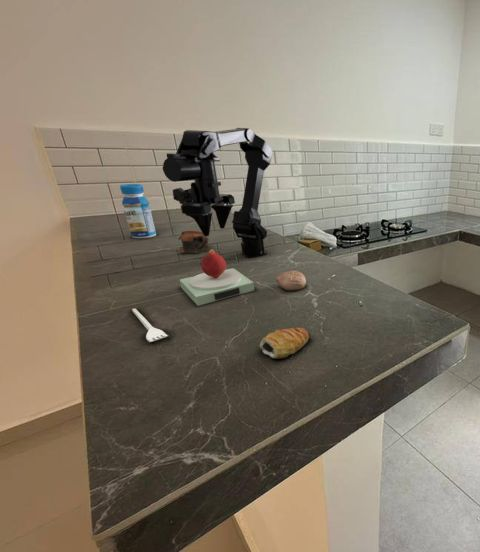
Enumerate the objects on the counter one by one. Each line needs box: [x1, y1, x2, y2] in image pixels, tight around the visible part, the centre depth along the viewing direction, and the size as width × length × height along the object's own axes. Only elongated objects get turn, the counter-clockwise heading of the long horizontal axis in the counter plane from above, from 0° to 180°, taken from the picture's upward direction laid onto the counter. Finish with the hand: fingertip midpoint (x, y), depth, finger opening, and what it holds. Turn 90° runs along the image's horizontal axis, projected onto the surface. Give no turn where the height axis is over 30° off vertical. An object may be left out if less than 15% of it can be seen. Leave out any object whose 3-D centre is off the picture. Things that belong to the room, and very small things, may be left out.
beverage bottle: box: [119, 183, 157, 239], centre depth 126 cm, size 8×8×20 cm
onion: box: [200, 248, 227, 278], centre depth 86 cm, size 6×6×8 cm
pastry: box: [259, 327, 310, 359], centre depth 65 cm, size 9×7×4 cm
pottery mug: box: [178, 230, 209, 254], centre depth 117 cm, size 12×10×8 cm
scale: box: [179, 267, 255, 306], centre depth 88 cm, size 14×14×3 cm
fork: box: [131, 308, 169, 343], centre depth 70 cm, size 3×20×2 cm, turn 50°
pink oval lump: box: [275, 269, 307, 292], centre depth 92 cm, size 8×6×8 cm
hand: (214, 232), depth 98 cm, fingers open, 9 cm apart
